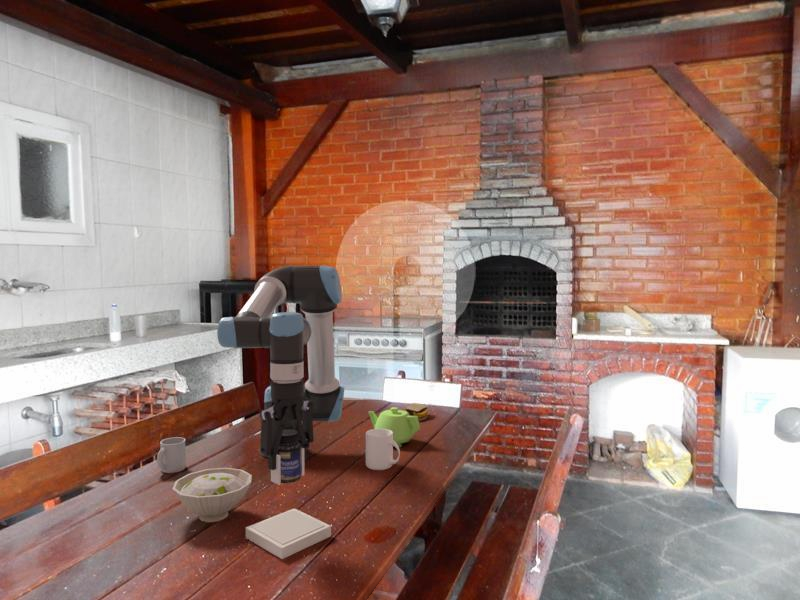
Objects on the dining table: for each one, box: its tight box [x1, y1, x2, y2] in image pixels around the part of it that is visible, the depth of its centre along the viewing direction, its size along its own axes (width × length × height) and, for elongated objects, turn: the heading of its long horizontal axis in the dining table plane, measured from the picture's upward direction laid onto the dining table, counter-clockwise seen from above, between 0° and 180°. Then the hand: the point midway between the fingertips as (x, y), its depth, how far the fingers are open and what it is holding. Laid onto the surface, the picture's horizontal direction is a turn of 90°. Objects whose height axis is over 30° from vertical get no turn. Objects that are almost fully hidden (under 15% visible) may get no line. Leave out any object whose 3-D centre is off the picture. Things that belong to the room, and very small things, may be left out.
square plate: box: [245, 508, 332, 560], centre depth 132 cm, size 14×14×3 cm
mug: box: [365, 428, 401, 471], centre depth 177 cm, size 9×12×11 cm
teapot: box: [368, 406, 421, 448], centre depth 201 cm, size 20×13×13 cm
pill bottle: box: [278, 430, 302, 484], centre depth 130 cm, size 6×6×11 cm
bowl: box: [171, 467, 253, 523], centre depth 142 cm, size 19×19×10 cm
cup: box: [156, 436, 187, 474], centre depth 173 cm, size 7×10×9 cm
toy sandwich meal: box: [404, 402, 429, 422], centre depth 234 cm, size 12×14×5 cm
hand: (287, 478), depth 131 cm, fingers closed on pill bottle, 6 cm apart
